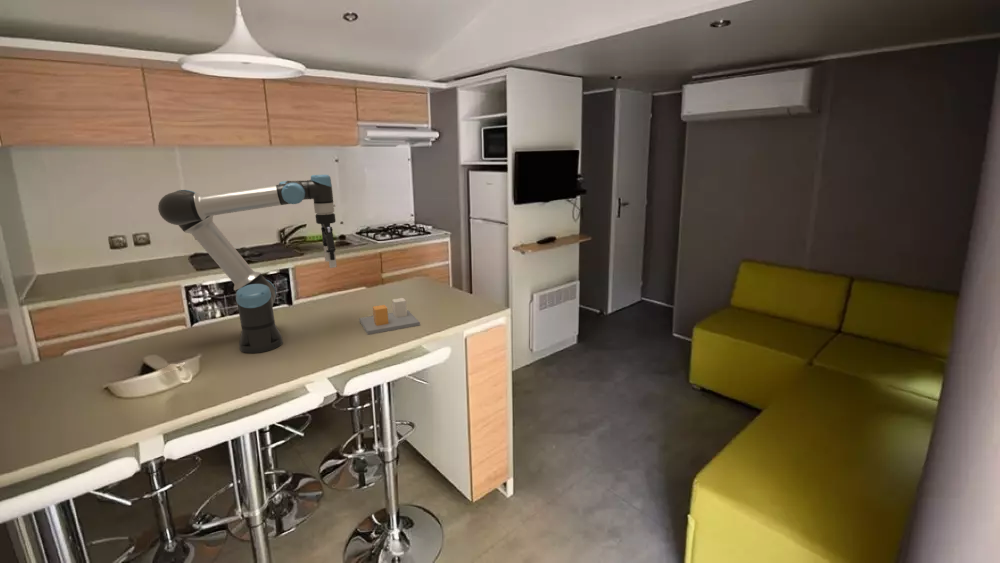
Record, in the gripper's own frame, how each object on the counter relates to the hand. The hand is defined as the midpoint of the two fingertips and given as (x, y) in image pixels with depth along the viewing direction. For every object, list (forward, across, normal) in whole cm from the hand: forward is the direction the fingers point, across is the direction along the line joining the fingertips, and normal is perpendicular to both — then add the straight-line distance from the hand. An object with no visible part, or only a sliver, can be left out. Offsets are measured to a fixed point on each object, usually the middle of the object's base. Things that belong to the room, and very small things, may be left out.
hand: (330, 264), depth 203 cm
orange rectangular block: (+25, -12, -16) cm, 32 cm away
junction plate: (+27, -10, -20) cm, 35 cm away
